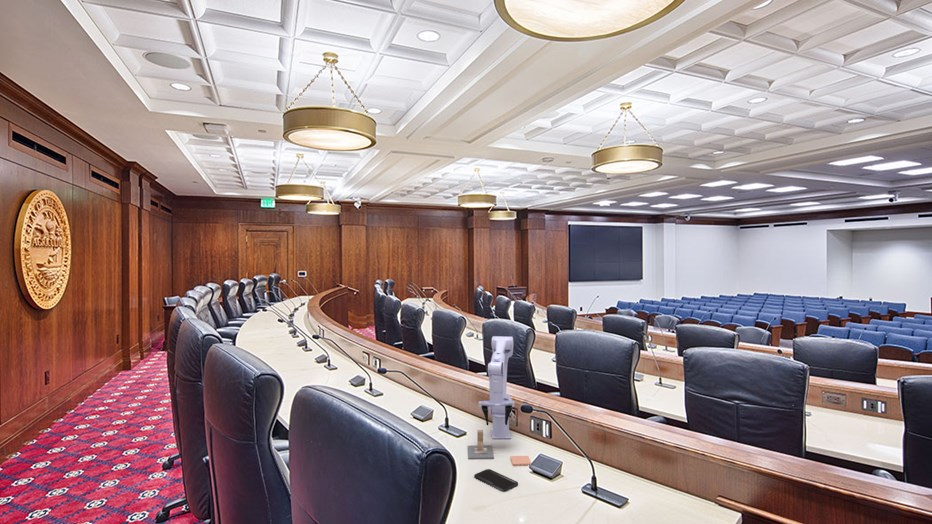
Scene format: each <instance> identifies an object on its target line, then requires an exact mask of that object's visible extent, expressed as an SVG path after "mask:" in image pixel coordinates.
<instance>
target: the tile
mask: <svg viewBox="0 0 932 524" xmlns="http://www.w3.org/2000/svg"><path fill="white" fill-rule="evenodd" d="M509 459H510V462H511V464H512V467H529V466H528V465H530V464H531V463H532V461H531V459H530V457H529V455H511V456H510V458H509Z"/></svg>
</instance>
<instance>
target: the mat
mask: <svg viewBox="0 0 932 524" xmlns="http://www.w3.org/2000/svg"><path fill="white" fill-rule="evenodd" d="M474 448H478V445H467V456H468V457H467V459H468V460H495V455H494V451H493V445H491V444H489V445H488V444H483V448H487V455H475V454H474Z"/></svg>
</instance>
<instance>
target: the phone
mask: <svg viewBox="0 0 932 524" xmlns="http://www.w3.org/2000/svg"><path fill="white" fill-rule="evenodd" d="M473 478H474V479H475V478H476V480H477V479H478V480H477V481H479V480H480V481H479V482H481V481H482V482H481V483H483V482H484V483H483V484H485V483H486V484H485V485H488V486H489V485H490V486H489V487H491V486H492V487H491V488H493V487H494V489H495V488H496V489H495V490H497V489H498V490H497V491H499V492H502V493H506V492H508V491H511V490H512V489H514V488H516V487H518V486H519V482H518V481H517V480H515V479H512V478H510V477H508V476H506V475H504V474H501V473H499V472H497V471H495V470H493V469H490V468H486V469H484V470H482V471H480V472H479V471H478V472H476V473H475V474H473Z"/></svg>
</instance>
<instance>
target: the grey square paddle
mask: <svg viewBox="0 0 932 524" xmlns="http://www.w3.org/2000/svg"><path fill="white" fill-rule="evenodd" d="M476 430H477V435H476V436H477V439H476V440H477V445H478V448H474V454H475V455H487V448H483V445H484V430H483V429H476Z"/></svg>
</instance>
